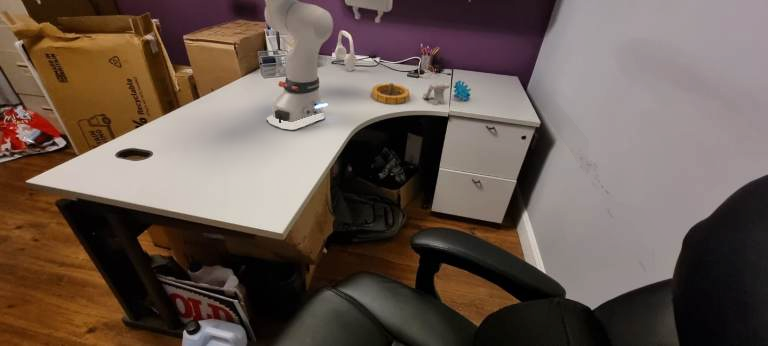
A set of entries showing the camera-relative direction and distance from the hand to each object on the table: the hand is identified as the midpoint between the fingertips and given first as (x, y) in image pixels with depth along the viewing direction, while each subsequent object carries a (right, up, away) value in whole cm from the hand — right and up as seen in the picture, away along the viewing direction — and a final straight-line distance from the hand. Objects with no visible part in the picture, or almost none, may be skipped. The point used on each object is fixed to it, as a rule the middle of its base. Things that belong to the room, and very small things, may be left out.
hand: (367, 20), depth 133 cm
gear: (+43, -27, +20) cm, 55 cm away
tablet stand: (+30, -30, +15) cm, 45 cm away
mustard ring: (+10, -28, +15) cm, 33 cm away
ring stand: (+10, -28, +15) cm, 33 cm away
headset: (-15, -4, +46) cm, 49 cm away
